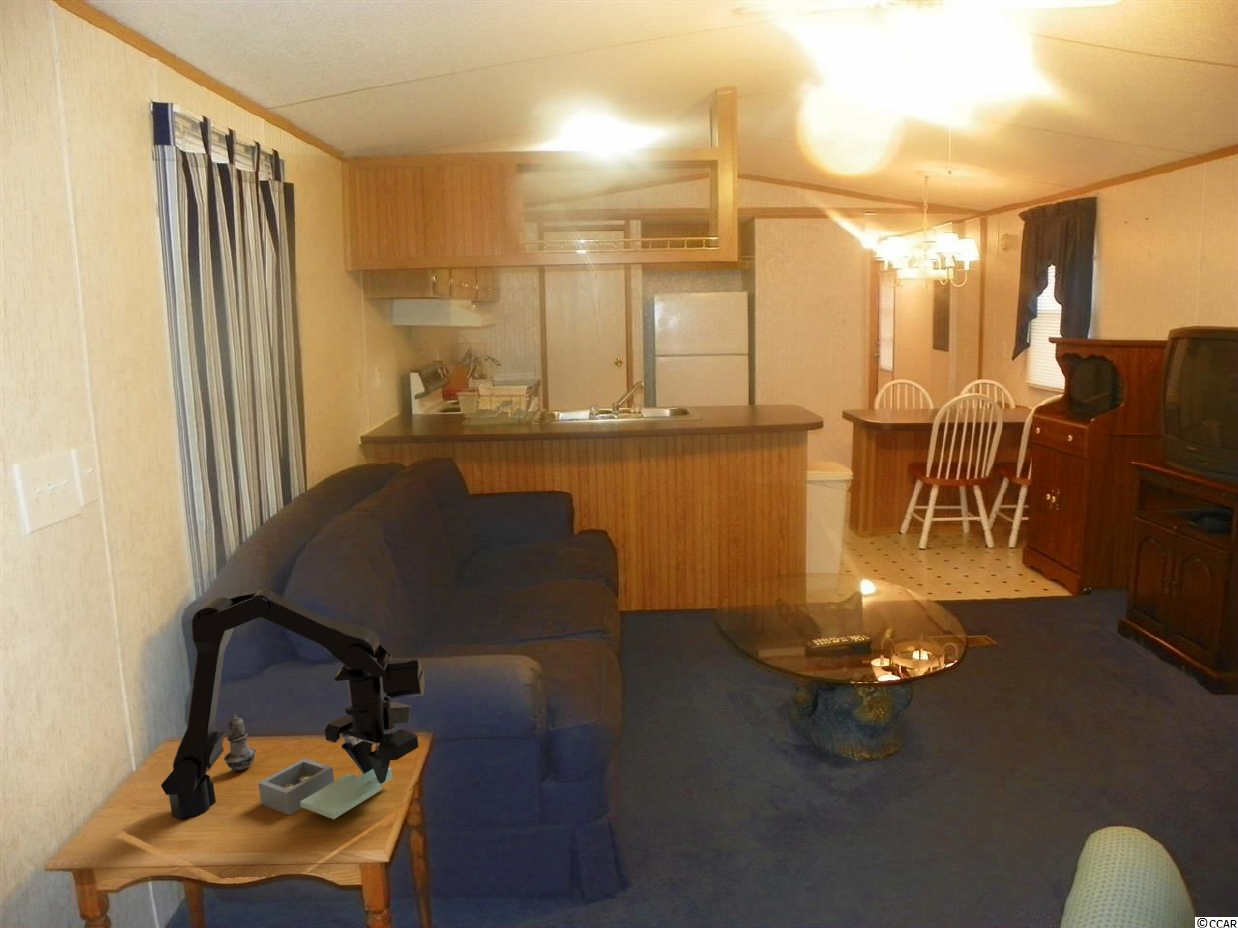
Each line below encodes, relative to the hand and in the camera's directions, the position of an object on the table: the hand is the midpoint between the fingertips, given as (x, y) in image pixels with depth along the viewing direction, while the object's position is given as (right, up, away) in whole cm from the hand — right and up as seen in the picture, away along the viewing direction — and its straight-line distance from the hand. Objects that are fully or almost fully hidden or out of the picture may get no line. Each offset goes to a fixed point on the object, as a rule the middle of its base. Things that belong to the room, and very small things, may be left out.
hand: (376, 780), depth 166 cm
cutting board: (-3, -1, -4) cm, 5 cm away
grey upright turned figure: (-30, -3, +13) cm, 33 cm away
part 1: (-15, -3, -1) cm, 16 cm away
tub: (-14, -4, 0) cm, 15 cm away
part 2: (-13, -3, +2) cm, 13 cm away
